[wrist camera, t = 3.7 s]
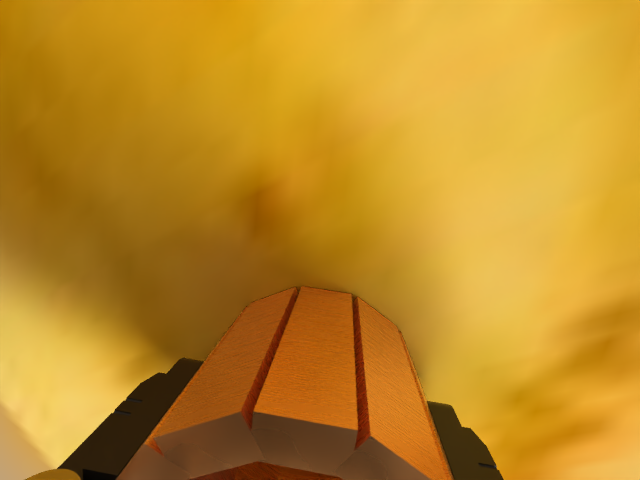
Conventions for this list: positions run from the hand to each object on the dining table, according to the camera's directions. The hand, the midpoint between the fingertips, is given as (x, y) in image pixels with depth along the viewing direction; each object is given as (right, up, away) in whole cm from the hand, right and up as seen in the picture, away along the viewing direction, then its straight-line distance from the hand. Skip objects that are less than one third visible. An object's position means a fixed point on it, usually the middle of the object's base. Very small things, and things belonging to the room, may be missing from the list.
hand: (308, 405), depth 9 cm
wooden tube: (0, 0, +1) cm, 1 cm away
